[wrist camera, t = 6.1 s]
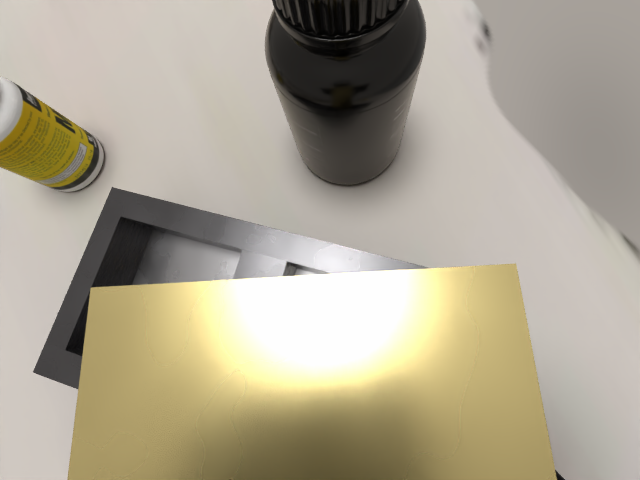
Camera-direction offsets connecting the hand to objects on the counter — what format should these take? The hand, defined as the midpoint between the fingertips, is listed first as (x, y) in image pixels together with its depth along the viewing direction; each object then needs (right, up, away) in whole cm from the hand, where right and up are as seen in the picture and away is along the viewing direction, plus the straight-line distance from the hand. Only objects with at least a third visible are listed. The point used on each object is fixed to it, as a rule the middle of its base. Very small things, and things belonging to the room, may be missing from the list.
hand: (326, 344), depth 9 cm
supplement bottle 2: (+2, +10, +12) cm, 16 cm away
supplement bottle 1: (-18, +9, +14) cm, 25 cm away
